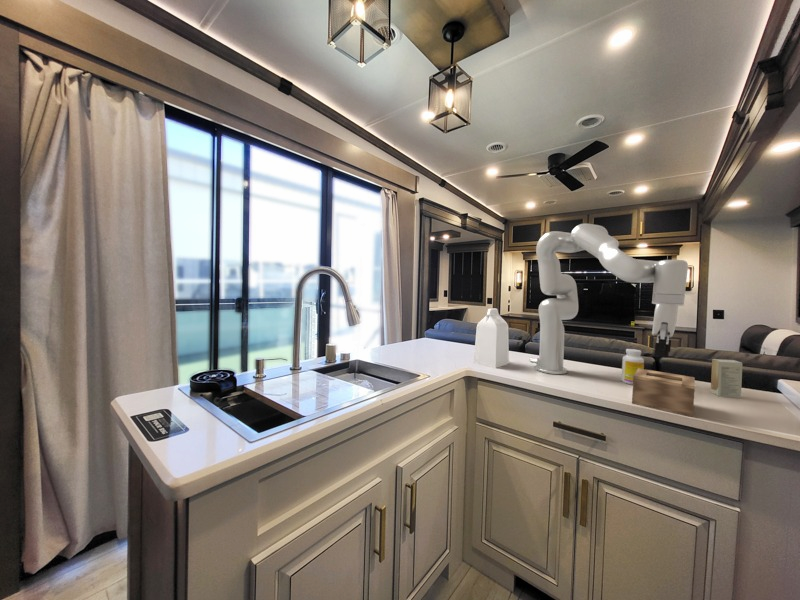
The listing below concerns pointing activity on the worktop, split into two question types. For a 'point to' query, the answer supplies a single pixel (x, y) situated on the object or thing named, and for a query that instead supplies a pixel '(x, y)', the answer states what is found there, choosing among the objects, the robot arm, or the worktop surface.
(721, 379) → the skincare box
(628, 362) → the supplement bottle
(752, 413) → the worktop surface
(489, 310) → the milk
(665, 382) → the box
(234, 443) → the worktop surface
